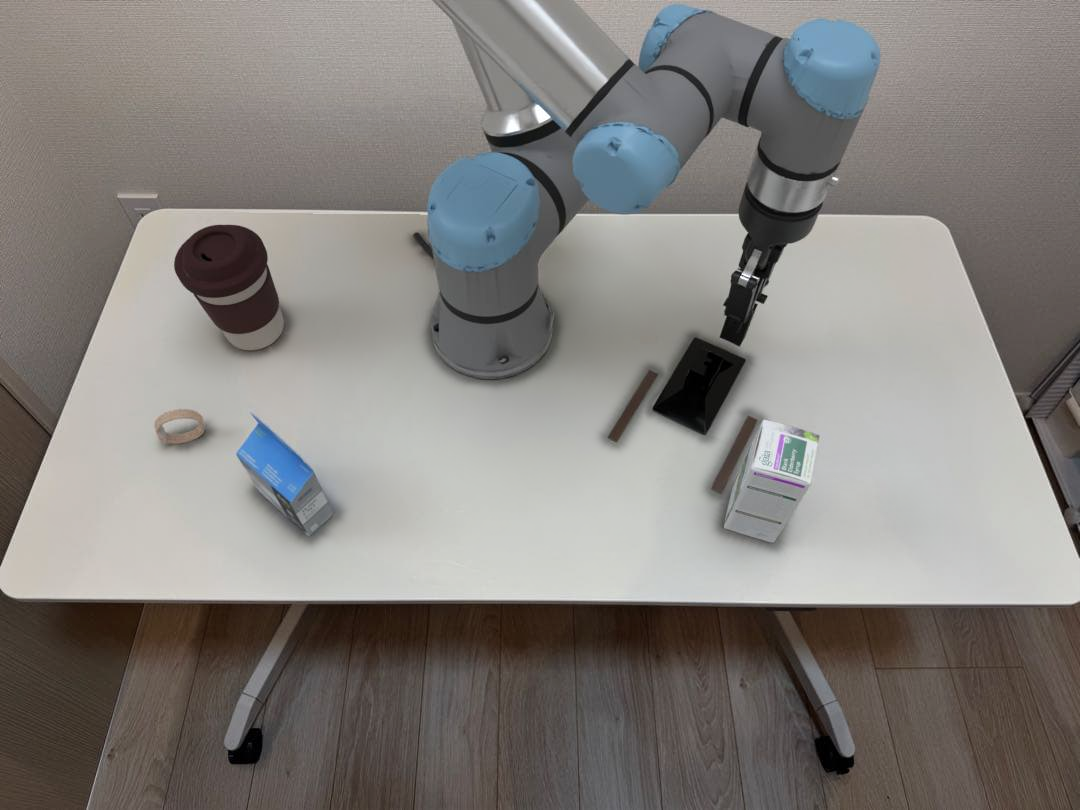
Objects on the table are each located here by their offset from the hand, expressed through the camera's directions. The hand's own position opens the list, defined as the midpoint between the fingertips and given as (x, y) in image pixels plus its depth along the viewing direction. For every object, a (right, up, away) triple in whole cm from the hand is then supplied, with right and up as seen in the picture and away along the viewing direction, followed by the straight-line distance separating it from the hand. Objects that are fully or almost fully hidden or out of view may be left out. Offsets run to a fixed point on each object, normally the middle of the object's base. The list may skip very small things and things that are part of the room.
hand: (732, 337), depth 93 cm
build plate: (-4, -6, 0) cm, 7 cm away
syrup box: (0, -20, -9) cm, 22 cm away
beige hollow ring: (-64, -12, -5) cm, 65 cm away
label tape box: (-50, -19, -9) cm, 54 cm away
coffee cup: (-60, +1, +4) cm, 60 cm away
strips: (-7, -11, -4) cm, 14 cm away
